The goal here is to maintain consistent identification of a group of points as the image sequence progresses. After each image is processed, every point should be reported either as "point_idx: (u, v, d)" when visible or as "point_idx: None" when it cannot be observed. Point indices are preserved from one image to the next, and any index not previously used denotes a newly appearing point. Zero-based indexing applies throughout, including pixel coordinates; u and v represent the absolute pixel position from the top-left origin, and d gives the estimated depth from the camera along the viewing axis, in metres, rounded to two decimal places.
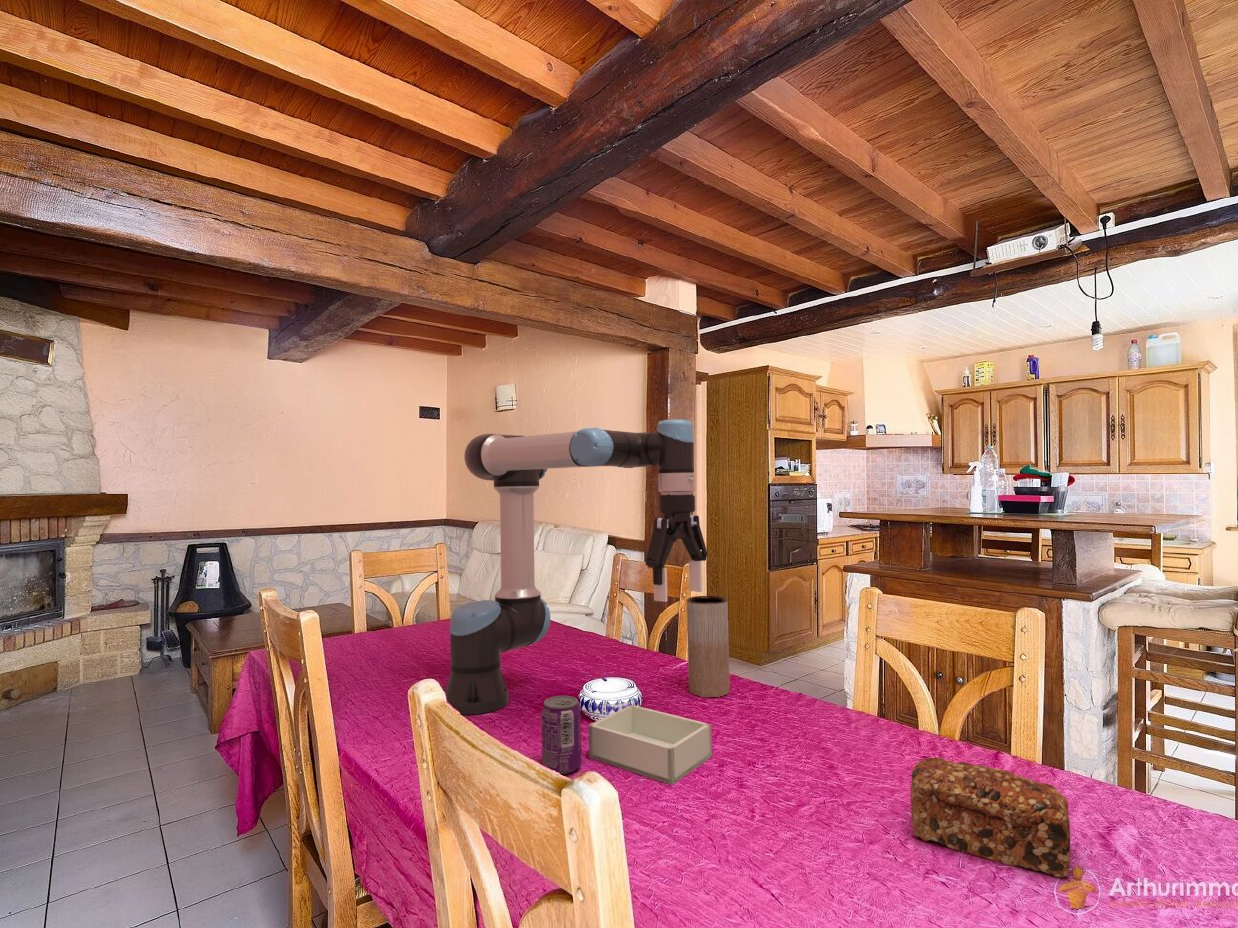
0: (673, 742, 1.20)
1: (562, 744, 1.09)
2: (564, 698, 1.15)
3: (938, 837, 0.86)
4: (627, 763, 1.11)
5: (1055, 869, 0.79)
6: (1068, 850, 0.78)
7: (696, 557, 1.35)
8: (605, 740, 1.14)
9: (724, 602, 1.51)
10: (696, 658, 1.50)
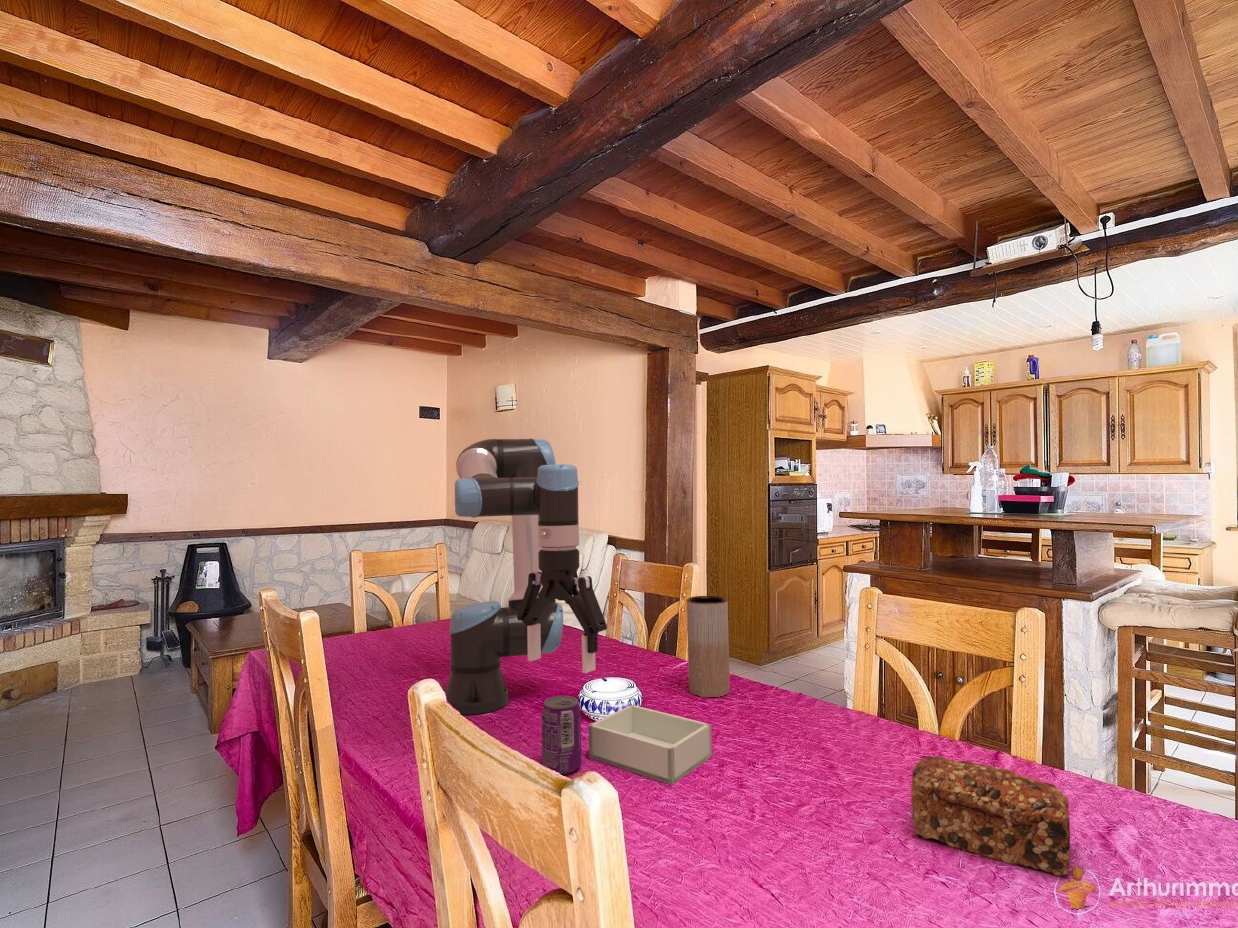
0: (673, 742, 1.20)
1: (562, 744, 1.09)
2: (564, 698, 1.15)
3: (938, 835, 0.87)
4: (627, 763, 1.11)
5: (1055, 867, 0.79)
6: (1068, 848, 0.79)
7: None
8: (605, 740, 1.14)
9: (724, 602, 1.51)
10: (696, 658, 1.50)
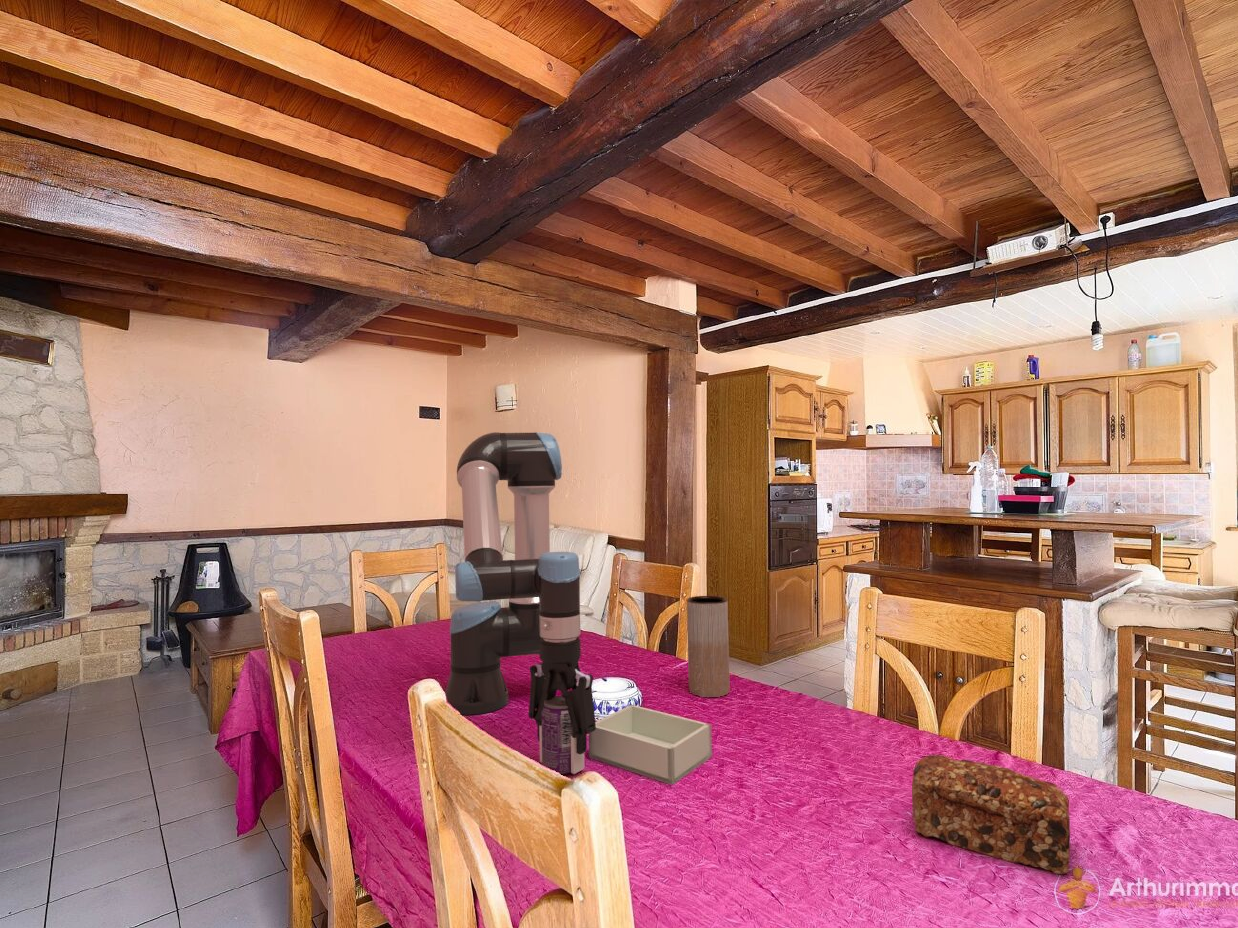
0: (673, 742, 1.20)
1: (562, 744, 1.09)
2: (564, 698, 1.15)
3: (939, 833, 0.87)
4: (627, 763, 1.11)
5: (1055, 866, 0.80)
6: (1068, 847, 0.79)
7: None
8: (605, 740, 1.14)
9: (724, 602, 1.51)
10: (696, 658, 1.50)
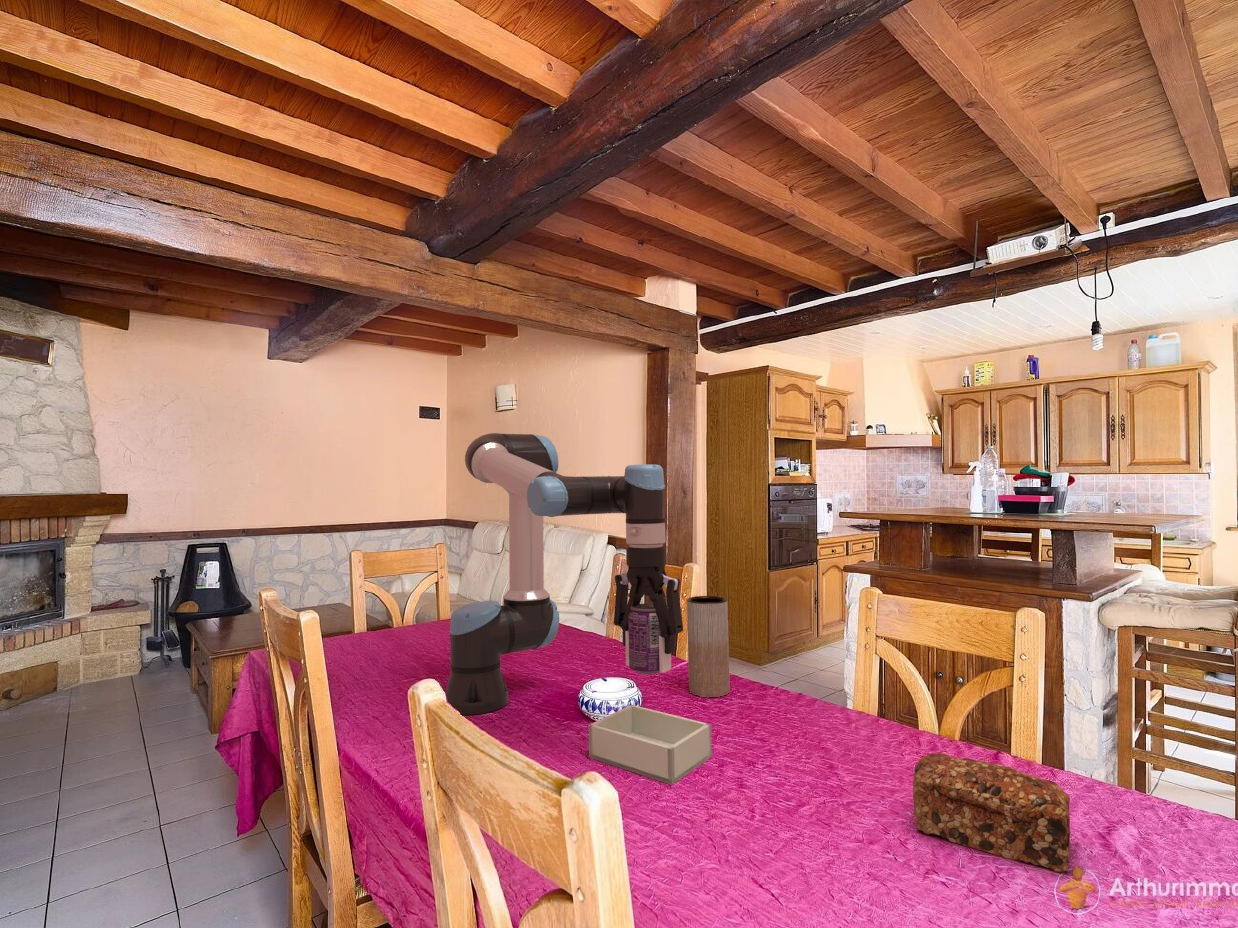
0: (673, 742, 1.20)
1: (651, 645, 1.14)
2: (648, 605, 1.20)
3: (940, 831, 0.88)
4: (627, 763, 1.11)
5: (1055, 864, 0.80)
6: (1067, 845, 0.79)
7: None
8: (605, 740, 1.14)
9: (724, 602, 1.51)
10: (696, 658, 1.50)
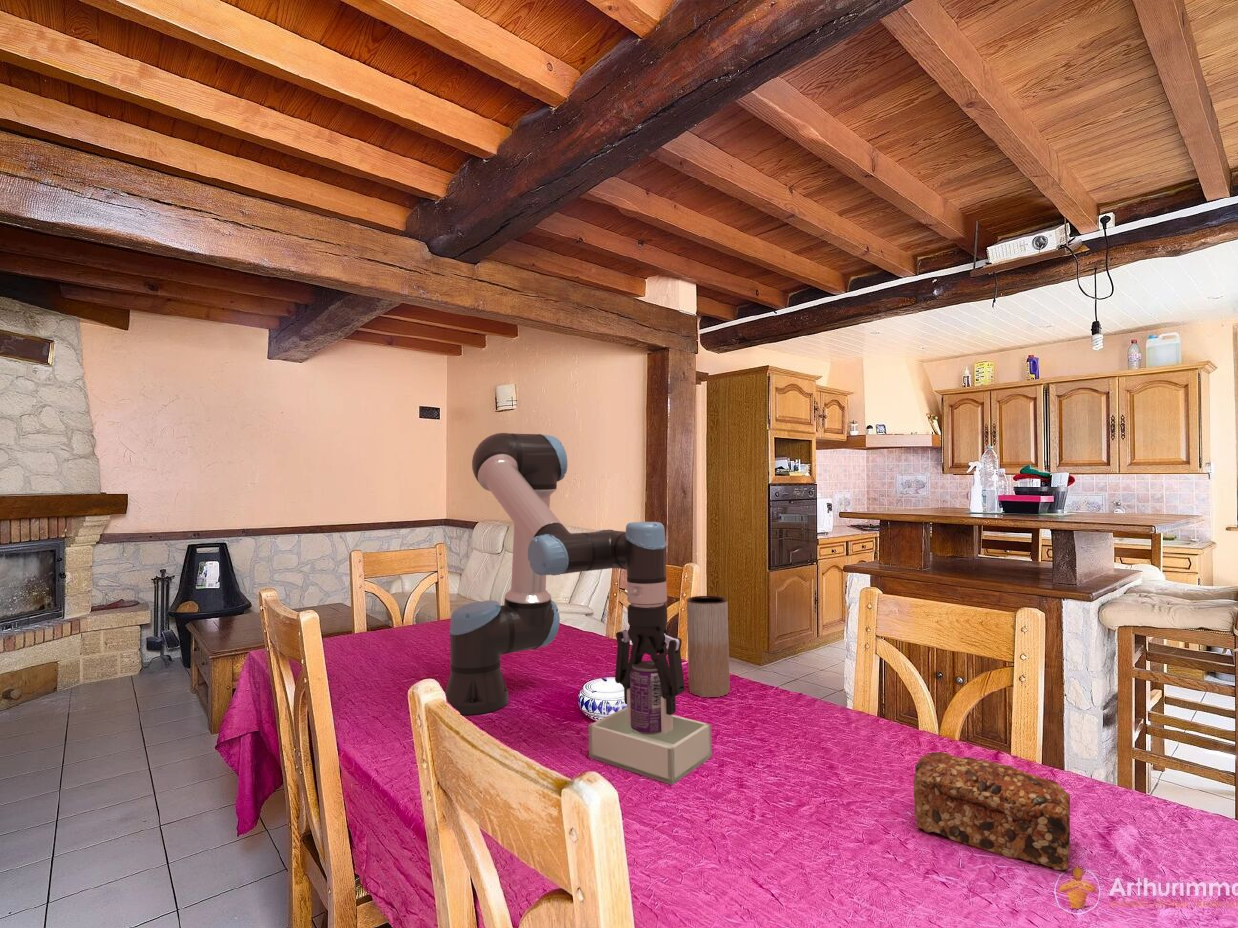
0: (673, 742, 1.20)
1: (652, 705, 1.13)
2: (649, 663, 1.19)
3: (940, 829, 0.88)
4: (627, 763, 1.11)
5: (1055, 862, 0.80)
6: (1067, 844, 0.80)
7: None
8: (605, 740, 1.14)
9: (724, 602, 1.51)
10: (696, 658, 1.50)
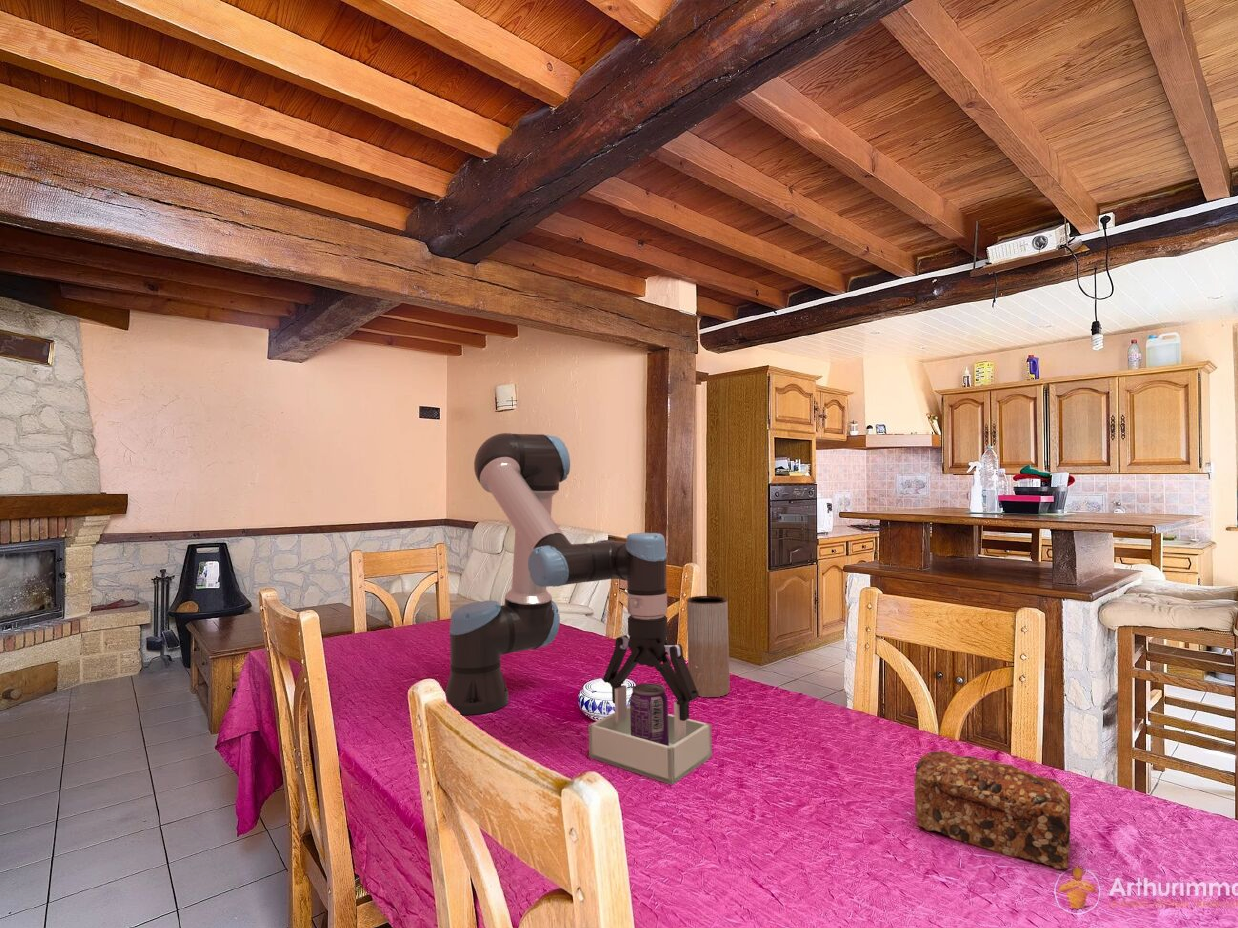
0: (673, 742, 1.20)
1: (653, 729, 1.13)
2: (650, 685, 1.19)
3: (941, 827, 0.89)
4: (627, 763, 1.11)
5: (1055, 861, 0.81)
6: (1067, 842, 0.80)
7: None
8: (605, 740, 1.14)
9: (724, 602, 1.51)
10: (696, 658, 1.50)
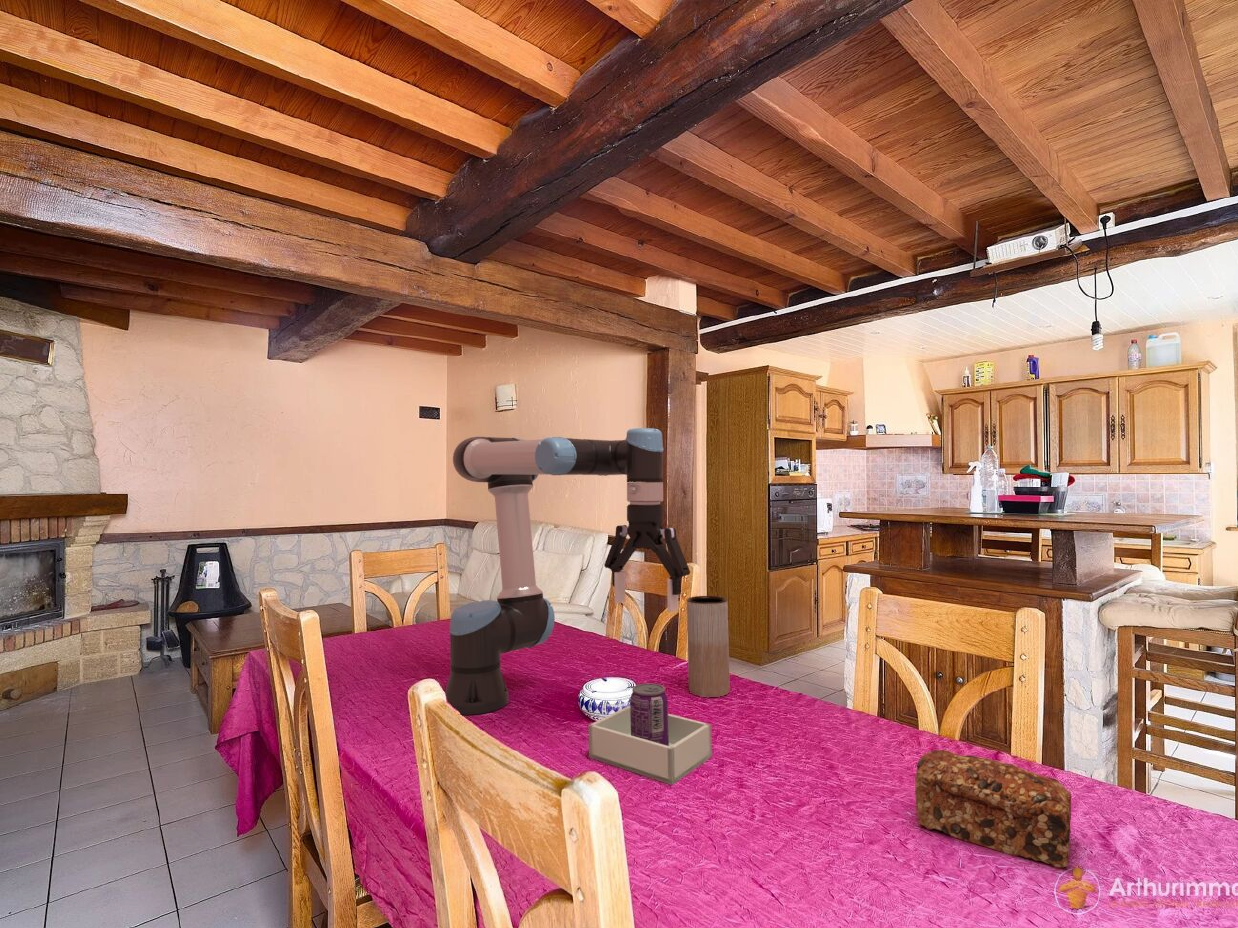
0: (673, 742, 1.20)
1: (653, 729, 1.13)
2: (650, 685, 1.19)
3: (941, 826, 0.89)
4: (627, 763, 1.11)
5: (1055, 859, 0.81)
6: (1067, 841, 0.80)
7: None
8: (605, 740, 1.14)
9: (724, 602, 1.51)
10: (696, 658, 1.50)
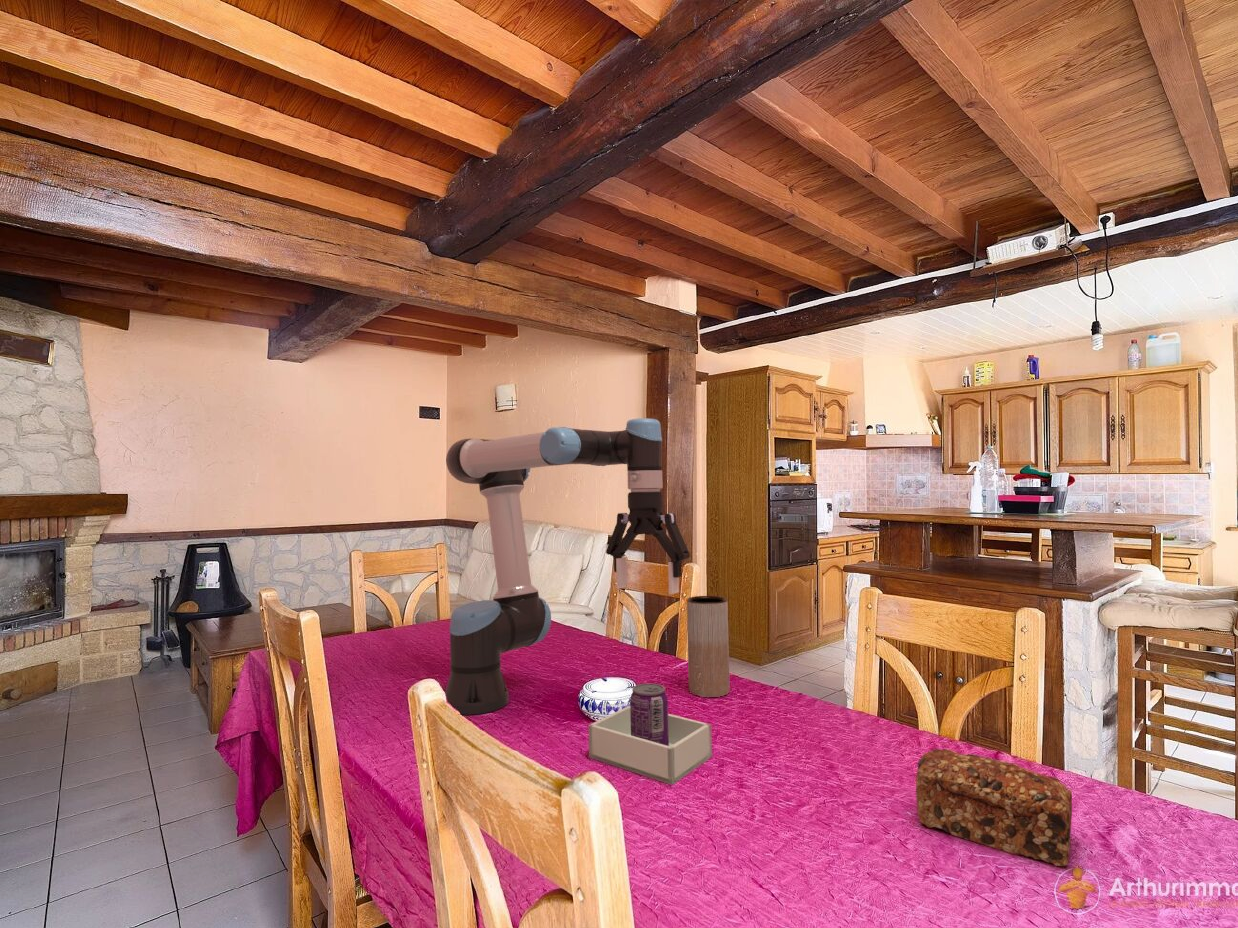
0: (673, 742, 1.20)
1: (653, 729, 1.13)
2: (650, 685, 1.19)
3: (942, 824, 0.89)
4: (627, 763, 1.11)
5: (1055, 858, 0.81)
6: (1067, 840, 0.81)
7: None
8: (605, 740, 1.14)
9: (724, 602, 1.51)
10: (696, 658, 1.50)
